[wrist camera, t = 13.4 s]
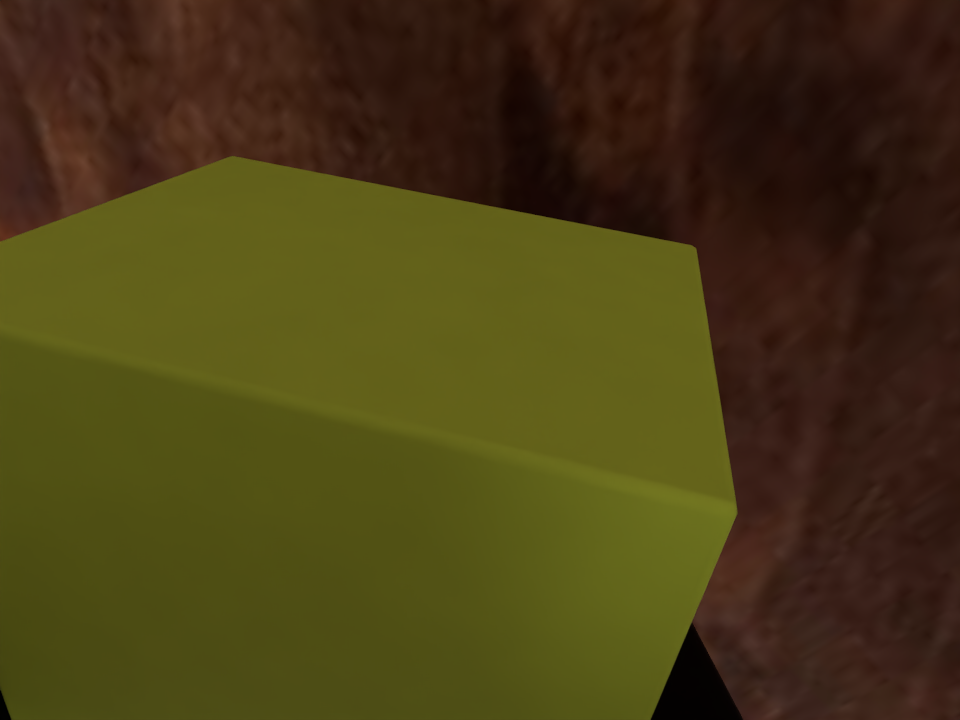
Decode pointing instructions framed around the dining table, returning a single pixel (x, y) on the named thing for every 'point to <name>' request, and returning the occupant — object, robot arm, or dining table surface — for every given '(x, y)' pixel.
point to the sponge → (349, 457)
